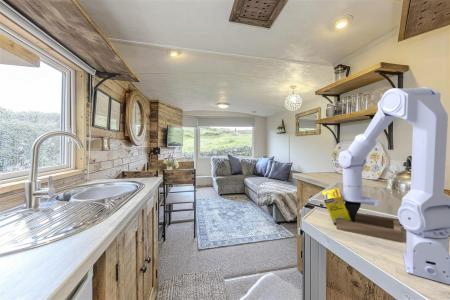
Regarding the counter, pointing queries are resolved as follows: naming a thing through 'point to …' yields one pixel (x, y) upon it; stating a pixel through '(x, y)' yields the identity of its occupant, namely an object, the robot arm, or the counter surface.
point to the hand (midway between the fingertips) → (353, 222)
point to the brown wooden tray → (372, 230)
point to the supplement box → (335, 205)
